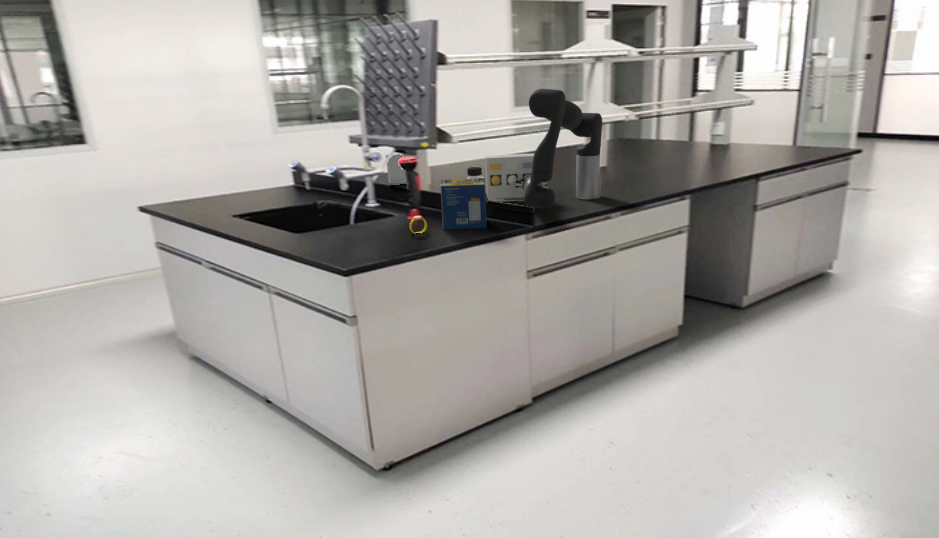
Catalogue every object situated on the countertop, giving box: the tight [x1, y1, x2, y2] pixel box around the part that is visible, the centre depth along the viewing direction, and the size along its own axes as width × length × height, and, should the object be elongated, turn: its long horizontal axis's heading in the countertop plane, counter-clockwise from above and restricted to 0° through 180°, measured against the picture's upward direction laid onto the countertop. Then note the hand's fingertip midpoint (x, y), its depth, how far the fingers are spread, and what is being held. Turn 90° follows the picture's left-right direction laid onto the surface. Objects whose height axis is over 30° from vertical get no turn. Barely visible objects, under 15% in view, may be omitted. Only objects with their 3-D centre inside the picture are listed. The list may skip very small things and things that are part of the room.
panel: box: [485, 152, 535, 200], centre depth 247 cm, size 20×6×18 cm, turn 91°
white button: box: [507, 174, 517, 186], centre depth 243 cm, size 4×5×4 cm
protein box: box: [440, 177, 487, 230], centre depth 215 cm, size 10×15×16 cm
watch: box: [408, 215, 428, 235], centre depth 209 cm, size 6×3×6 cm, turn 116°
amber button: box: [491, 175, 500, 185], centre depth 245 cm, size 4×5×4 cm
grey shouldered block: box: [385, 152, 407, 184], centre depth 287 cm, size 8×6×15 cm
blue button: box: [523, 173, 531, 179], centre depth 246 cm, size 4×5×4 cm
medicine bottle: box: [466, 165, 486, 183], centre depth 260 cm, size 7×7×12 cm
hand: (528, 179), depth 243 cm, fingers closed
